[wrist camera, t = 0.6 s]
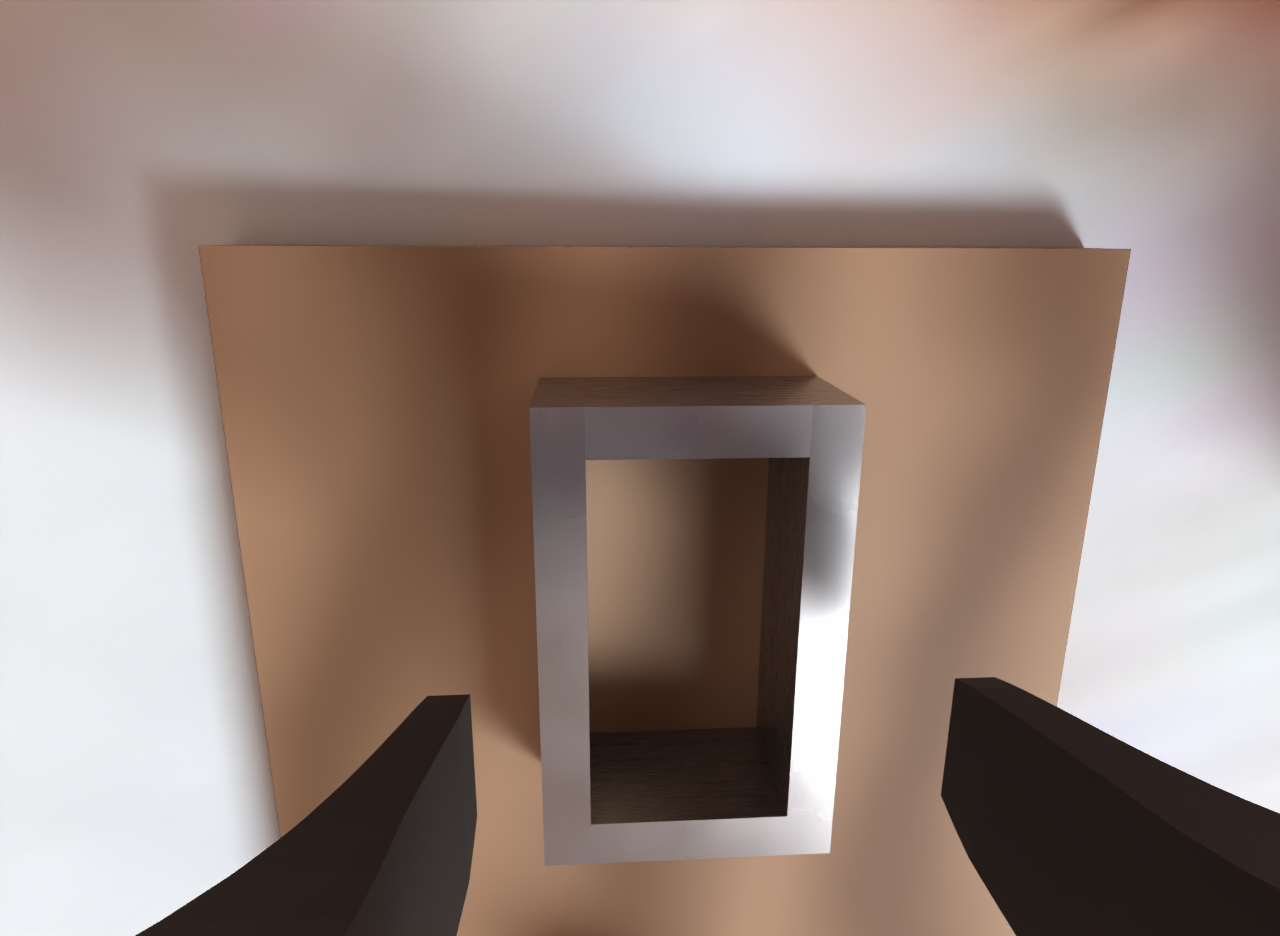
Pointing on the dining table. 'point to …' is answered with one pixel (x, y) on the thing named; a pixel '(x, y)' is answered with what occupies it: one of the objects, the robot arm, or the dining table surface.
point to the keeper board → (657, 535)
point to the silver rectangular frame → (790, 621)
